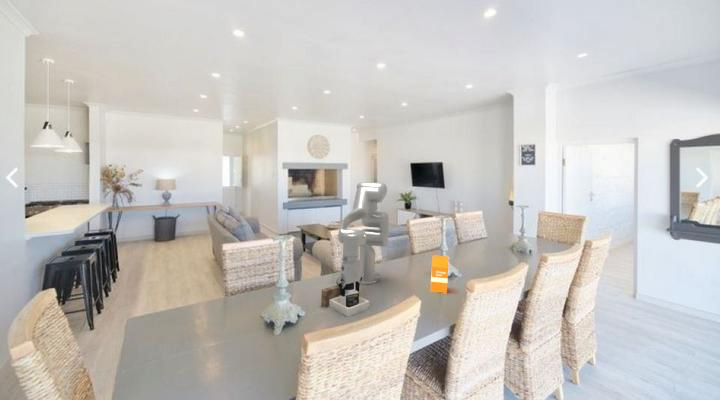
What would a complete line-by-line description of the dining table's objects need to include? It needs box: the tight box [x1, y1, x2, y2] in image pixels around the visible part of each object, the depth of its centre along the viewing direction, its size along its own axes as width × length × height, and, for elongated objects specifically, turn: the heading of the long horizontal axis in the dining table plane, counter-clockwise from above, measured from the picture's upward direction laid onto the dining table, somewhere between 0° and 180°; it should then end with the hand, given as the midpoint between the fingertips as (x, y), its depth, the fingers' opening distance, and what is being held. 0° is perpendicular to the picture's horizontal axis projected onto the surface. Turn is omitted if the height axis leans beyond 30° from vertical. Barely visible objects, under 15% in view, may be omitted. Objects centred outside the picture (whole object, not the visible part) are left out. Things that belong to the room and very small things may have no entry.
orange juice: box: [430, 254, 449, 294], centre depth 183 cm, size 8×9×20 cm
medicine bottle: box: [340, 282, 360, 308], centre depth 157 cm, size 7×7×12 cm
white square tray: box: [328, 296, 371, 317], centre depth 157 cm, size 14×14×4 cm
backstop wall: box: [320, 284, 343, 308], centre depth 164 cm, size 18×3×8 cm, turn 134°
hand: (349, 293), depth 157 cm, fingers open, 9 cm apart
